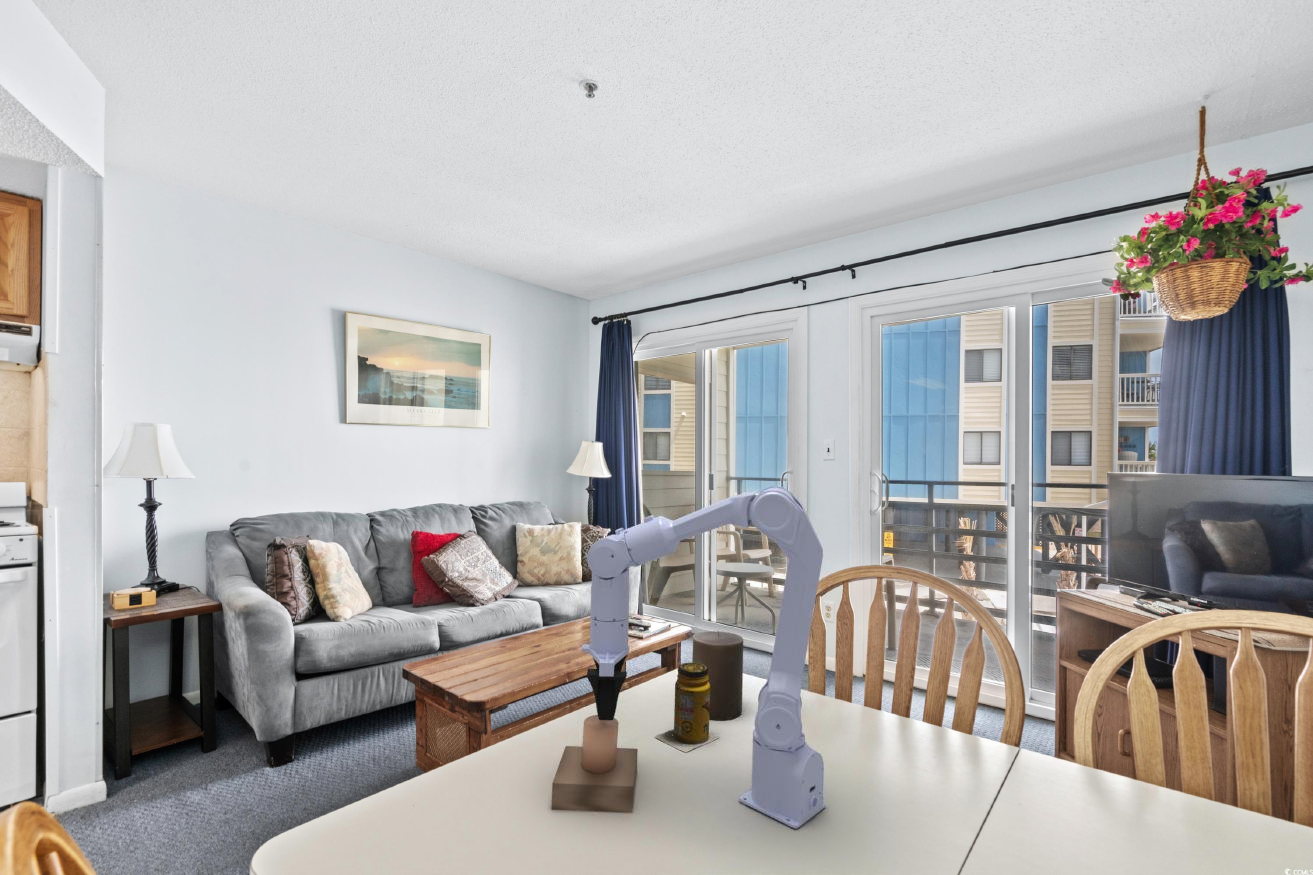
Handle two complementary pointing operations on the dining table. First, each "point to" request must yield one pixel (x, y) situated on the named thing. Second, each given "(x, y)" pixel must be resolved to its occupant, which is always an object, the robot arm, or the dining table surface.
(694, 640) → the pillar candle
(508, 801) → the dining table surface
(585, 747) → the terracotta cylinder
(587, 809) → the walnut block
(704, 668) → the condiment
